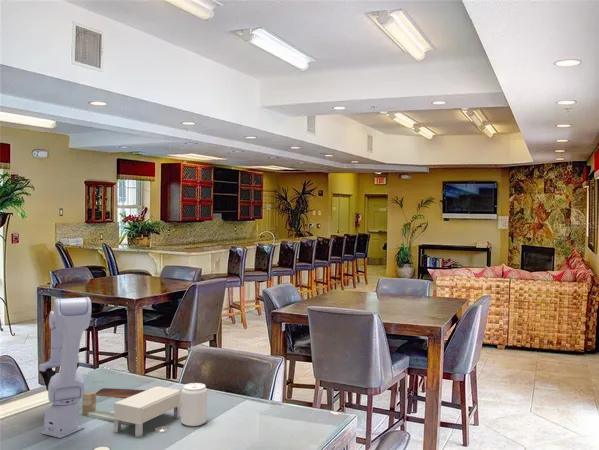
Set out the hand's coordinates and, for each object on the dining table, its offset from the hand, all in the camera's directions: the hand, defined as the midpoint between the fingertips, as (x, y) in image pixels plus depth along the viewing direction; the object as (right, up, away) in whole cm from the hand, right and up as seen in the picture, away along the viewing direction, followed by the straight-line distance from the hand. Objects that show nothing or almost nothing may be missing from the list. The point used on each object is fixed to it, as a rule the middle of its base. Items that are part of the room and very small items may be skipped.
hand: (59, 387), depth 184 cm
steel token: (+37, -11, -11) cm, 40 cm away
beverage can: (+46, -11, -4) cm, 47 cm away
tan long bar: (+17, -10, -2) cm, 20 cm away
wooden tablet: (+16, -10, +24) cm, 31 cm away
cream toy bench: (+31, -10, -6) cm, 33 cm away
